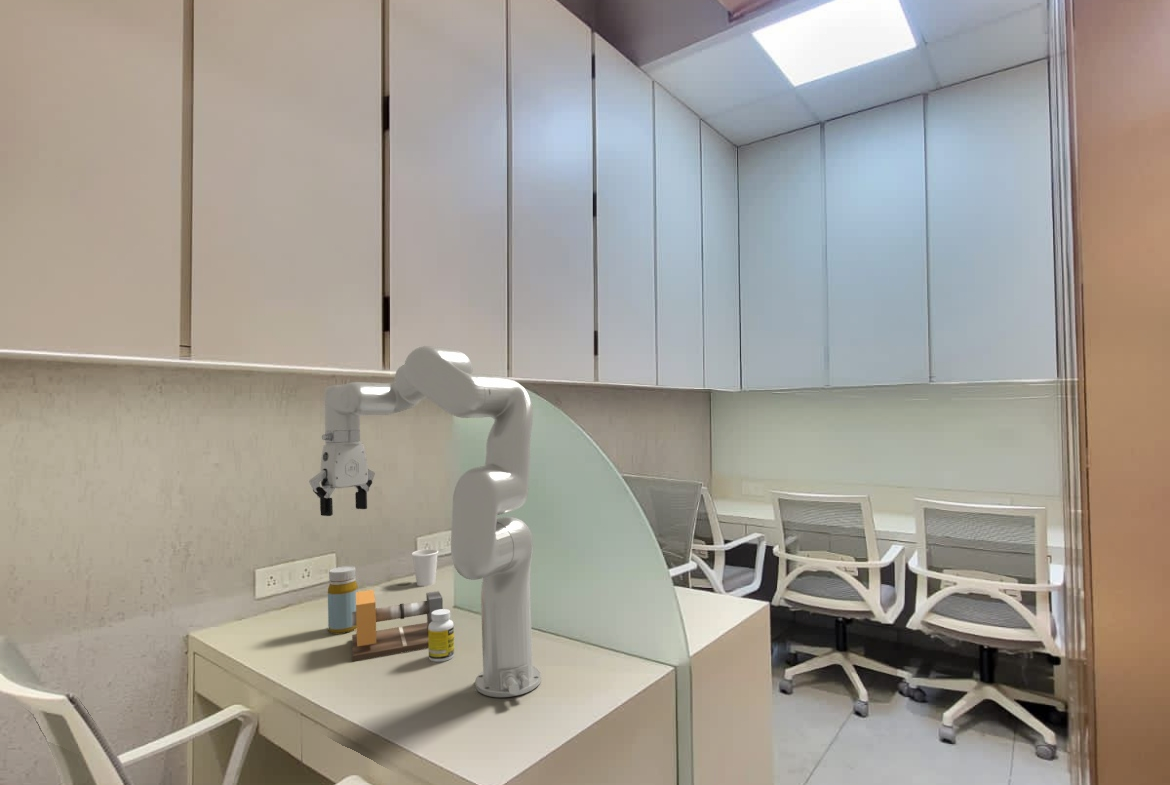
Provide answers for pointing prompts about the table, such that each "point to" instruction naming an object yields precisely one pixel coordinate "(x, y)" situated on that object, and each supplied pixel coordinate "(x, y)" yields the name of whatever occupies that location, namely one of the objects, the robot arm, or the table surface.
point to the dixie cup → (425, 566)
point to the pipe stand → (399, 629)
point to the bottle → (341, 599)
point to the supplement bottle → (441, 636)
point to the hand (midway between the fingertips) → (344, 512)
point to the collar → (366, 618)
